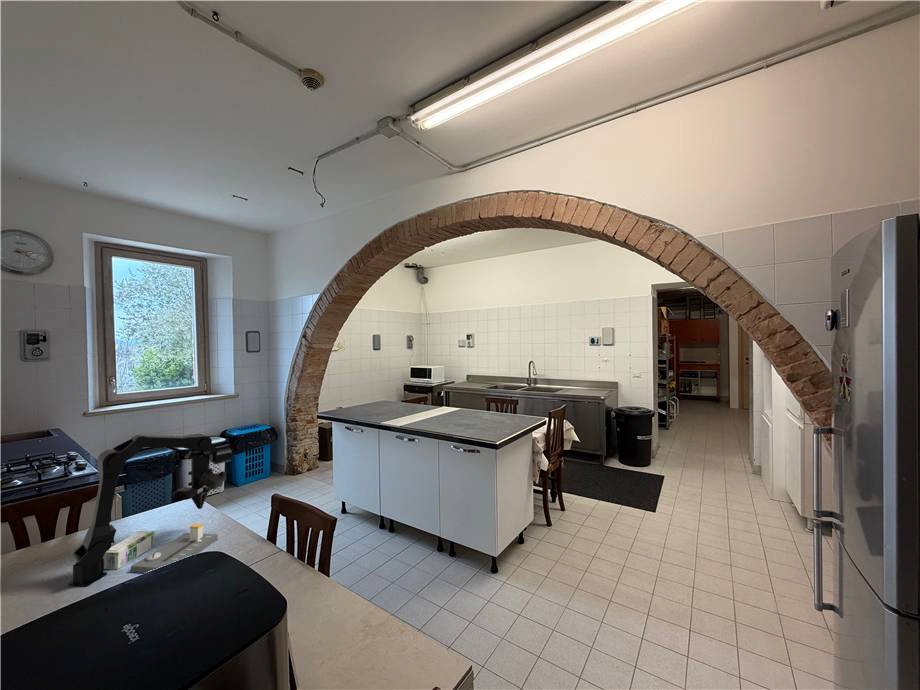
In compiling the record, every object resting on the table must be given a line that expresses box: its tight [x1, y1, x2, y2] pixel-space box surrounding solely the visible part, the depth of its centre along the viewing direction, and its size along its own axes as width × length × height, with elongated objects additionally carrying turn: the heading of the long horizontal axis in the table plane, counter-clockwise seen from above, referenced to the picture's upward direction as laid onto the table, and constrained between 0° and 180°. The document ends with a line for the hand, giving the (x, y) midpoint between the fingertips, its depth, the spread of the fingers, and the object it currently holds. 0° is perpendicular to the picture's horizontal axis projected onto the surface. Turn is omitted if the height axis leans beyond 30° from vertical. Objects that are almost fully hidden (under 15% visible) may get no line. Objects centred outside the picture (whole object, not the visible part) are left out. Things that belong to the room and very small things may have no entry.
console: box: [130, 532, 219, 574], centre depth 133 cm, size 22×13×3 cm, turn 175°
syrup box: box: [103, 530, 155, 570], centre depth 131 cm, size 6×6×14 cm
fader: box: [189, 522, 204, 540], centre depth 139 cm, size 3×3×5 cm
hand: (200, 508), depth 143 cm, fingers closed
